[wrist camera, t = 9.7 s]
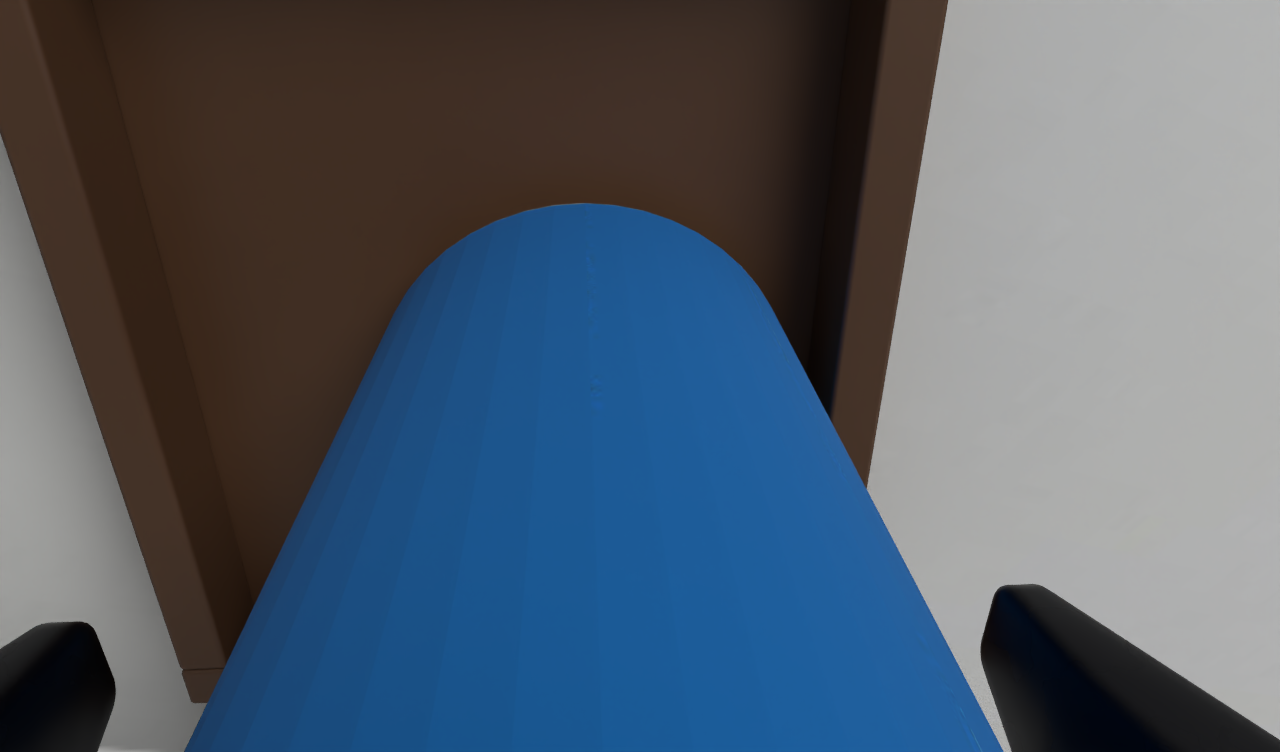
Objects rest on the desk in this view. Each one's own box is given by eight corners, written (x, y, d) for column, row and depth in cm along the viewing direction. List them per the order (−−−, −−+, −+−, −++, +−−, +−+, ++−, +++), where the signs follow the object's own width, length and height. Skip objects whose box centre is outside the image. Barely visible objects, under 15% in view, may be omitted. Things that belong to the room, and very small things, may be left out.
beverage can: (321, 250, 13) (-976, 1866, 2) (739, 138, 12) (1748, 1401, 2) (466, 568, 16) (238, 1892, 5) (805, 486, 15) (1320, 1725, 5)
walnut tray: (810, 600, 17) (837, 675, 16) (231, 622, 17) (190, 705, 15) (920, -191, 11) (987, -214, 9) (-8, -213, 10) (-132, -243, 8)
